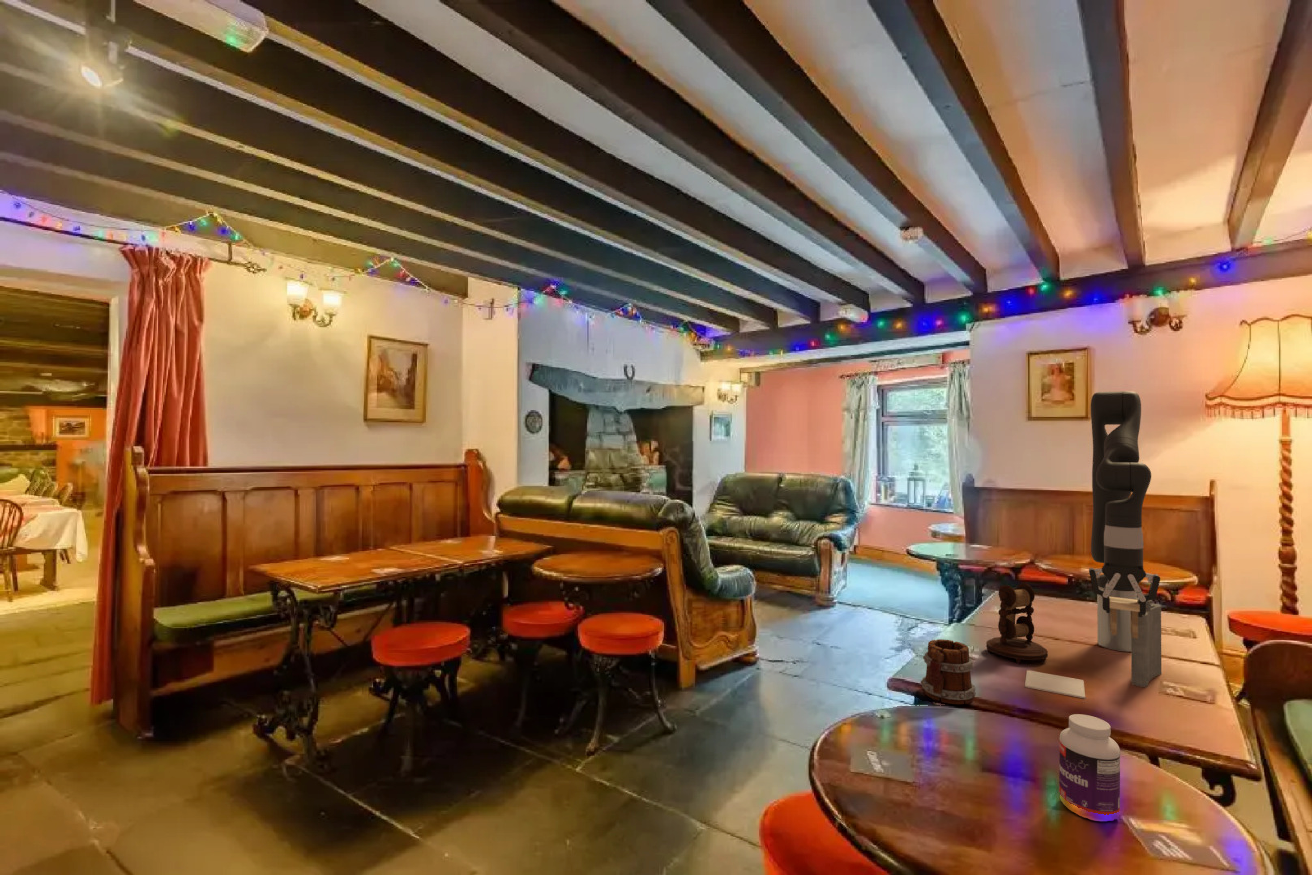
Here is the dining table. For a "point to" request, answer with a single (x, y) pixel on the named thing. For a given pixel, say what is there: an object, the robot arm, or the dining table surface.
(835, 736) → the dining table surface
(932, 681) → the mug
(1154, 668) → the hip flask
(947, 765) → the dining table surface
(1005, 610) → the scroll
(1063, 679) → the mat
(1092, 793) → the pill bottle
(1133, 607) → the stool
